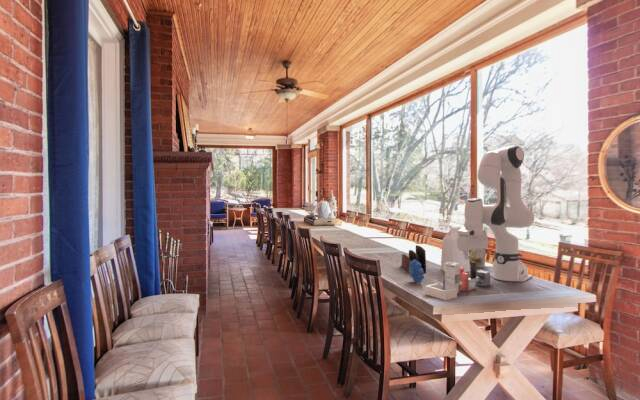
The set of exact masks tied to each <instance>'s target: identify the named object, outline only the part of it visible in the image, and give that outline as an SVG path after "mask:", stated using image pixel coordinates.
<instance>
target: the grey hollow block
mask: <svg viewBox="0 0 640 400" xmlns="http://www.w3.org/2000/svg"><path fill="white" fill-rule="evenodd" d="M490 274H491V271H486V270H482V269H480V270H476V276H481V275H483V280H480V281H476V282H474V283H475V286H479V287H484V288H486V286H487V287H489V286H491V278H490Z"/></svg>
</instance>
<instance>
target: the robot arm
mask: <svg viewBox="0 0 640 400" xmlns="http://www.w3.org/2000/svg"><path fill="white" fill-rule="evenodd" d="M524 158H525V153H524V150H523V149H522V147H520V146H518V145H511V146H505V147H501V148H499V149H496V150H491V151H487V152H485V153H484V154H483V155H482V158H481V160H480V163H479V166H478V169H477V180H478V181H479V183H480V184H481V185H483V186H485V187H486V188H490V189H492V190H493V191H494V190H495V191H496V203H495V204H484V203H483V199H482V198H480V197H479V198H477V197H473V198H468V199H466V200H465V205H464V223H463V226H462V227H461V229H460V230H458V235H459V236H458V241H457V247H458V250H460V251H463V253H464V256H465V259H466V260H468V259H470V256H468V252H469V250H477V249H478V254H476V257H477V258H481V254H482V252H483V249H485V250H486V249H488V247H489V238H488V234H487V232H486V230H485V229H484V224H485V225H486V226H487V227H488V228H489V229H490V230H491V231H492V234H493V235H494V240H495V252H494V258H495V259H494V260H493V262H492V269H491V270H492V271H491V272H490V274H491V278H492V279H494V280H495V279H496V280H498V281H505V282H520V283H521V282H526V281H528V280H529V279H531V278H533V276H532V274H528V267H527V265H526V264H524V262H523V261H522V260H521V258H522V257H523V252H522V253H521V252H519V238H518V237H517V236H515V235H514V234H512V233H511V232H509V231H508V229H507V228H514V229H516V228H517V229H523V228H524V229H525V228H530V227H531V226H532V225H533V224H534V223H535V222H534V221H535V214H534V212H533V211H532V210H531V208H529V207H527V205H526V204H525V203H524V201H523V200H522V173H521V172H522V171H521V166H522V163H523V161H524ZM507 204H508V205H509V206H507Z"/></svg>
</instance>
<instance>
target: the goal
mask: <svg viewBox="0 0 640 400" xmlns="http://www.w3.org/2000/svg"><path fill="white" fill-rule="evenodd" d="M424 295H426V296H429V295H430V297H433V298H437V299H439V300H444V301H448V300H451V299H452V298H453V299H455V298H456V299H457V298H458V293H457V289H456V288H454V289H450V290H446V291H445V290H443V289H440V288H439V283H433V284H428V285H424Z"/></svg>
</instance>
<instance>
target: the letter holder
mask: <svg viewBox="0 0 640 400" xmlns="http://www.w3.org/2000/svg"><path fill="white" fill-rule="evenodd" d="M426 255H427V254H426V250H425V248H423V247H422V246H420V245H417V244H416V245H415V251H414V250H411V249H409V250H408V255H407V254H405V253H402V254H401V267H402V268H403V269H404V270H405V271H407V272H408V273H409V274H410V272H409V271H410V270H409V267H410V262H411V261H413V260H414V259H415V260H417V262H420V263H421V267H420V268H422V269H423V270H424V272H423V273H422V274H426V273H427V260H426V259H427V257H426Z"/></svg>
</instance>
